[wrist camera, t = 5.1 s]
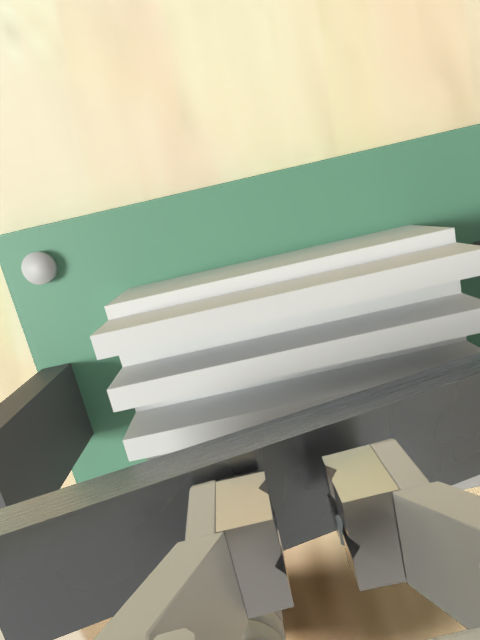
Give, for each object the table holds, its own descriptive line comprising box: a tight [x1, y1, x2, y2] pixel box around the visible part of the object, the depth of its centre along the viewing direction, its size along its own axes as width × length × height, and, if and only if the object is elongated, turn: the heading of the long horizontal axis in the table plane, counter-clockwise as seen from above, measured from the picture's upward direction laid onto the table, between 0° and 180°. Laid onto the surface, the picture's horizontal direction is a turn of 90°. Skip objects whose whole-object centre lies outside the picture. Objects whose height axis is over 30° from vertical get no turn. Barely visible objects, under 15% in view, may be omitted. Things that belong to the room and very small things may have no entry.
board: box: [0, 124, 480, 509], centre depth 15 cm, size 21×14×8 cm, turn 103°
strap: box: [0, 352, 480, 640], centre depth 10 cm, size 17×3×1 cm, turn 102°
